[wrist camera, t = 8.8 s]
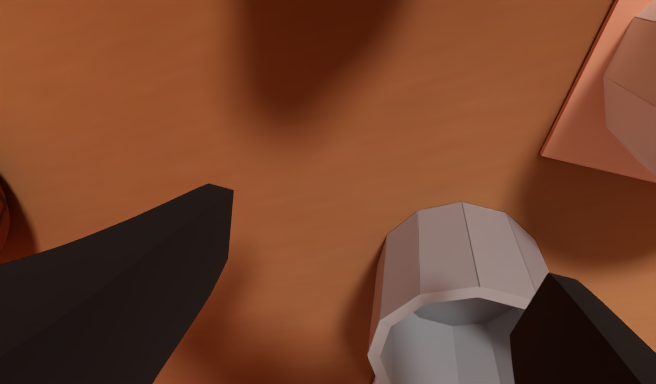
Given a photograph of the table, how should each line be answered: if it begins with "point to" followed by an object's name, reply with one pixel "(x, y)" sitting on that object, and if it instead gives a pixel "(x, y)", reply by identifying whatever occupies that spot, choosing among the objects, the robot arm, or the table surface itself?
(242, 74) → the table surface
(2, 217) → the potted plant
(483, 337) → the grey faceted cup
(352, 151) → the table surface
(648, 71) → the tube
